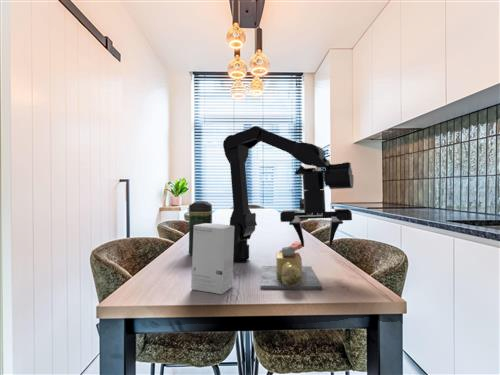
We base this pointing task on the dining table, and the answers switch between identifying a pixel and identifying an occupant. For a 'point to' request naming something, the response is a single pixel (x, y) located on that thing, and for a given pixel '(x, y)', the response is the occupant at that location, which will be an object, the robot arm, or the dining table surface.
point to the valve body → (289, 274)
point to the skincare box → (212, 257)
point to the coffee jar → (198, 218)
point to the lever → (291, 249)
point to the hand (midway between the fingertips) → (316, 246)
